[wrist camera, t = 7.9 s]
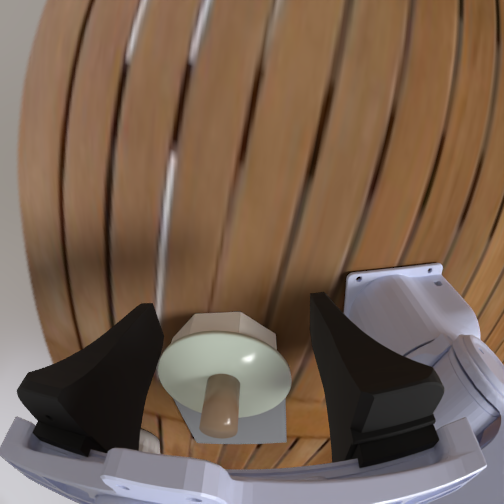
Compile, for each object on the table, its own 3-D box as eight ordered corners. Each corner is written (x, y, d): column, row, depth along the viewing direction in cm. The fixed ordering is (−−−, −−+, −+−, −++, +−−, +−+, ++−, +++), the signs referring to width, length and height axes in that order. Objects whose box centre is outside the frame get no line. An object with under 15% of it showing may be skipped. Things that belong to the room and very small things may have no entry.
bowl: (273, 309, 25) (275, 332, 22) (278, 380, 29) (280, 402, 26) (164, 314, 25) (155, 336, 23) (189, 383, 30) (184, 404, 27)
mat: (284, 389, 30) (284, 391, 29) (286, 439, 35) (286, 441, 35) (171, 390, 30) (170, 393, 30) (197, 440, 36) (197, 442, 36)
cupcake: (140, 449, 40) (128, 495, 30) (102, 422, 36) (84, 471, 27) (181, 447, 38) (171, 500, 29) (142, 418, 34) (125, 476, 25)
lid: (308, 342, 22) (318, 397, 17) (273, 418, 28) (274, 462, 23) (158, 317, 22) (136, 369, 17) (161, 401, 27) (149, 444, 22)
